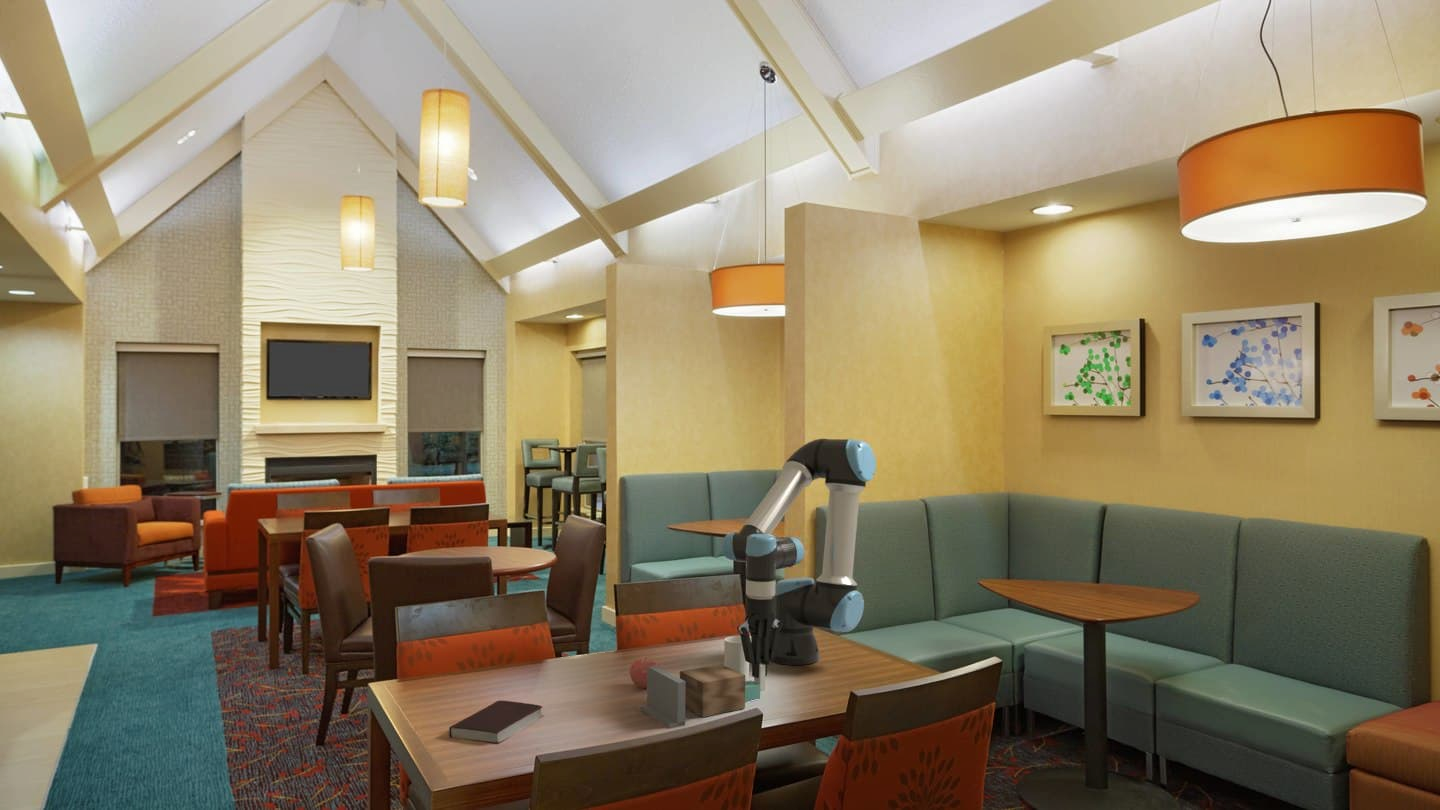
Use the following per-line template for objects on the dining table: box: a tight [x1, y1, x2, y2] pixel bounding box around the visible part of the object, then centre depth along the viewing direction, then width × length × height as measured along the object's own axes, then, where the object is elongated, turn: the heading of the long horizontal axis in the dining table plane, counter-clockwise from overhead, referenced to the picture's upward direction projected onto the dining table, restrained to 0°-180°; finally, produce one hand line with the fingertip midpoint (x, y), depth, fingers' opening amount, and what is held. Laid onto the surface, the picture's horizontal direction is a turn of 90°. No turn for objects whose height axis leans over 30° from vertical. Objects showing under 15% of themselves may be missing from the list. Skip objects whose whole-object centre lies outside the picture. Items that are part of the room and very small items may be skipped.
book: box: [448, 700, 544, 745], centre depth 205 cm, size 12×19×3 cm, turn 161°
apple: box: [629, 657, 659, 689], centre depth 234 cm, size 7×7×8 cm
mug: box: [723, 635, 750, 681], centre depth 238 cm, size 10×7×12 cm, turn 24°
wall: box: [639, 665, 686, 729], centre depth 212 cm, size 4×15×10 cm, turn 33°
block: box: [679, 663, 746, 718], centre depth 219 cm, size 12×11×8 cm
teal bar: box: [745, 679, 761, 703], centre depth 223 cm, size 14×4×4 cm, turn 122°
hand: (759, 689), depth 227 cm, fingers closed
